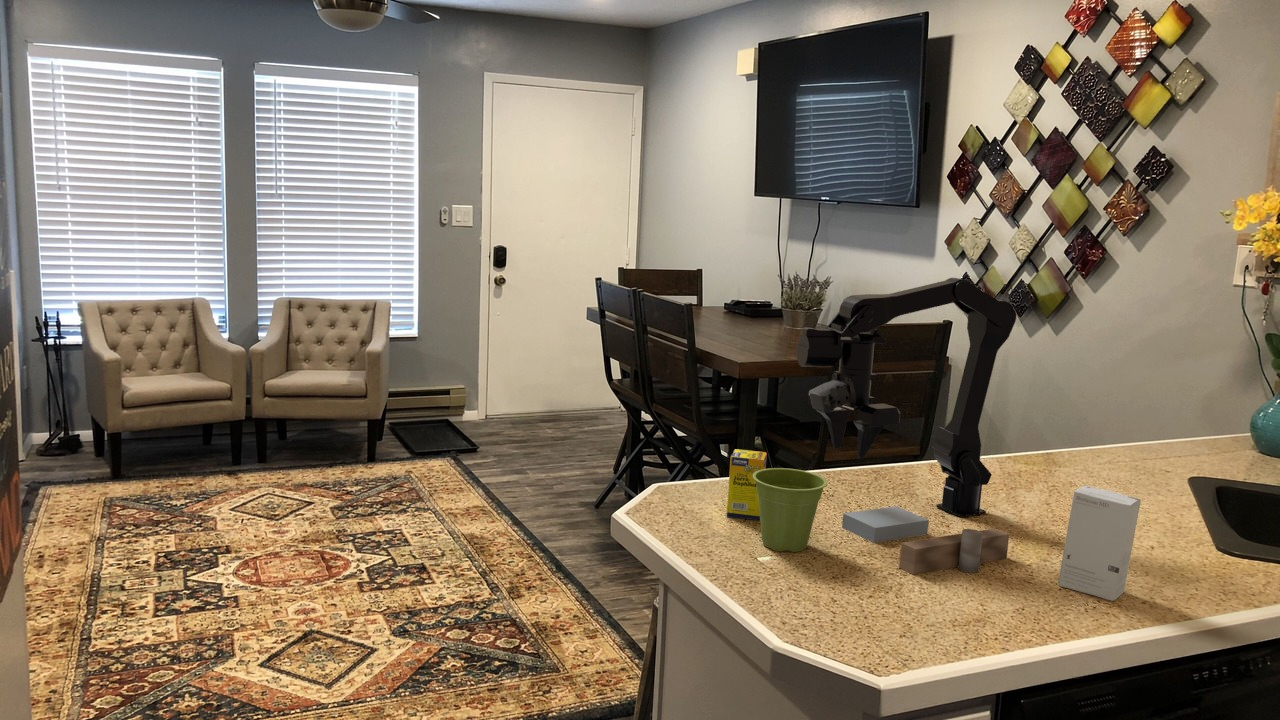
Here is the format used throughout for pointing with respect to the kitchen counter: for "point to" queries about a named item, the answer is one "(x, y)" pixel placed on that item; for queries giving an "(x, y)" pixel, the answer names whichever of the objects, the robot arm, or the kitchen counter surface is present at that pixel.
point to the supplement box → (744, 484)
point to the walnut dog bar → (954, 551)
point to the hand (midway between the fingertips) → (848, 453)
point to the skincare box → (1099, 542)
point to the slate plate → (885, 524)
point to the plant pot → (787, 506)
